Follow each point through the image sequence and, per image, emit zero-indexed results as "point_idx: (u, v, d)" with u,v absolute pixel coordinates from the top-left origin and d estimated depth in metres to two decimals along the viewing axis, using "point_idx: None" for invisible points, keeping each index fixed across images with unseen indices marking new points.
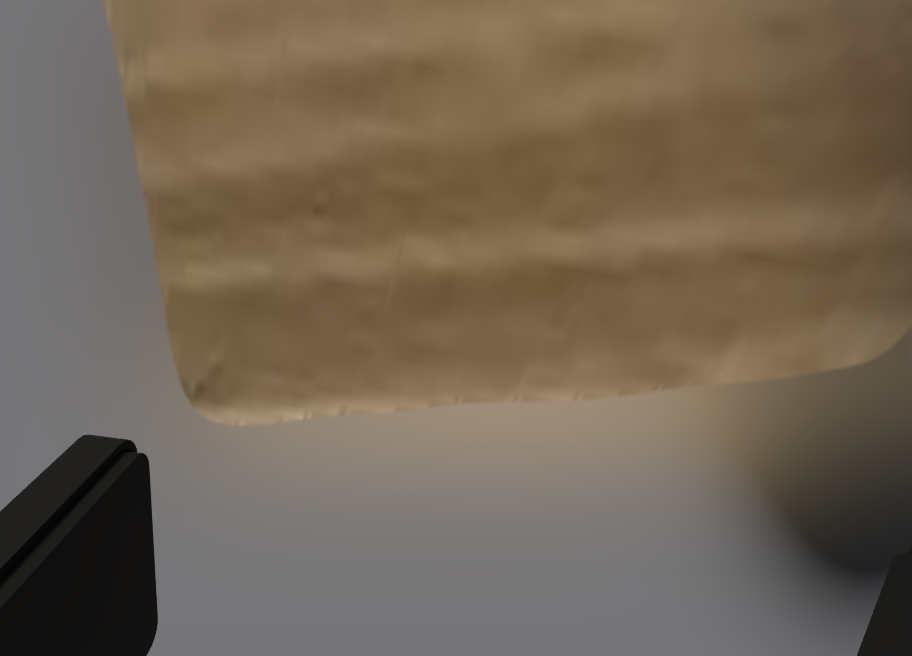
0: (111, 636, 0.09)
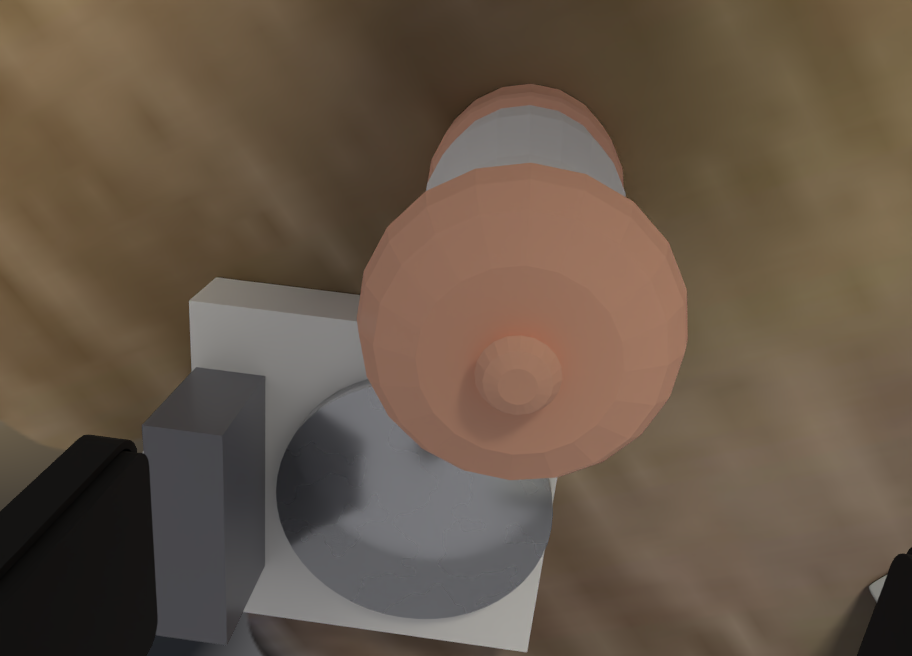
0: (111, 636, 0.09)
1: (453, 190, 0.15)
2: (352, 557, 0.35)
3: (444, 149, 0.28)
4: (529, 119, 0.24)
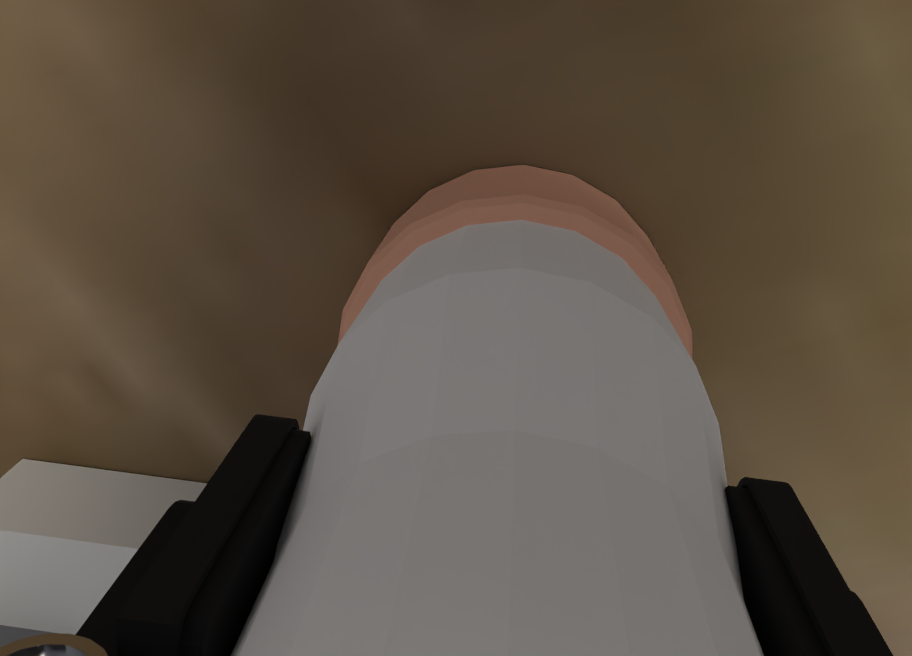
0: None
1: None
2: None
3: (364, 295, 0.15)
4: (518, 287, 0.11)
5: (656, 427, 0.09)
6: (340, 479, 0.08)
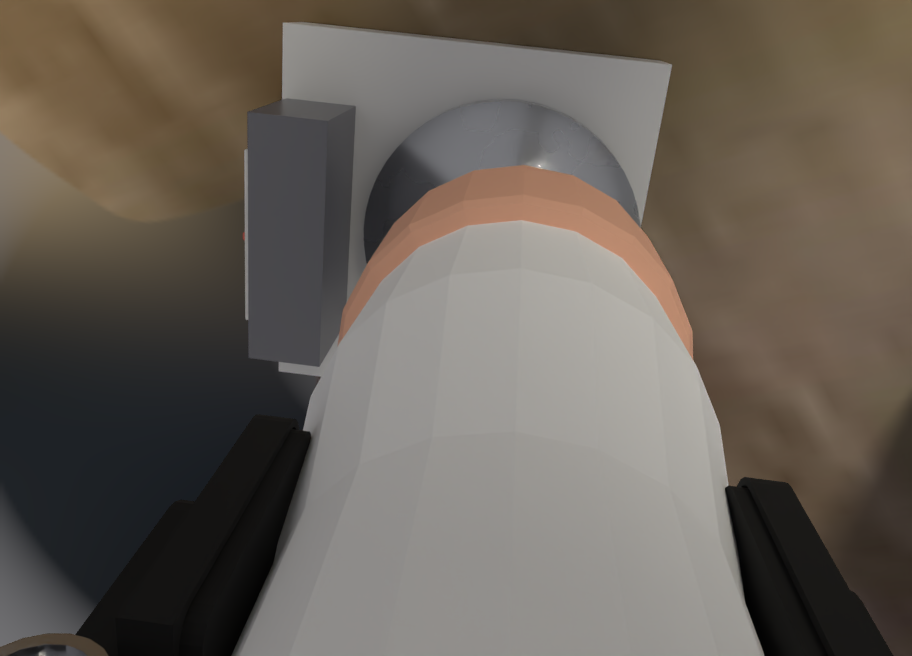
0: None
1: None
2: None
3: (364, 296, 0.15)
4: (519, 287, 0.11)
5: (657, 428, 0.09)
6: (340, 481, 0.08)
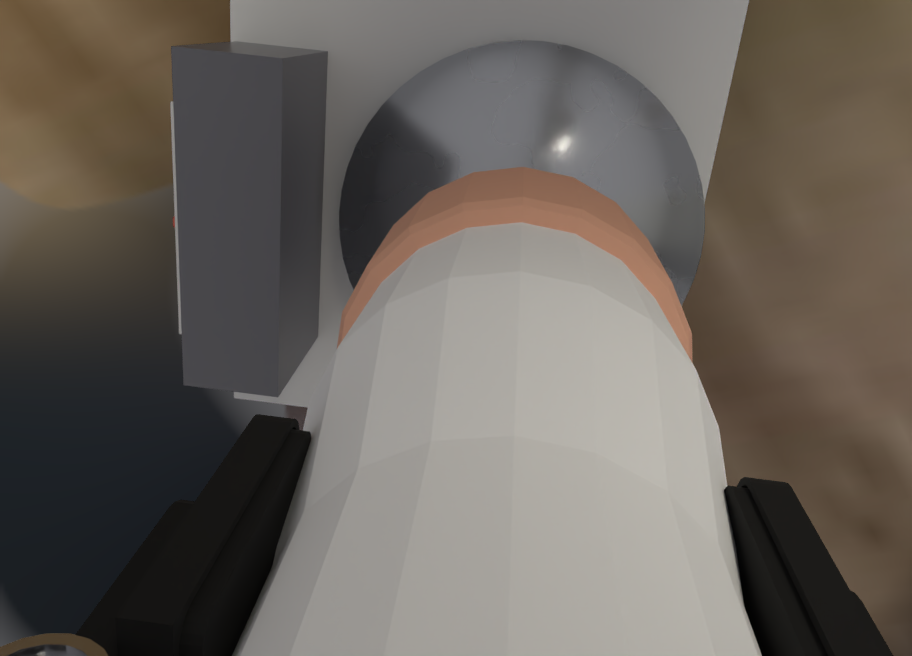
0: None
1: None
2: None
3: (363, 298, 0.15)
4: (518, 290, 0.11)
5: (656, 432, 0.09)
6: (339, 484, 0.08)
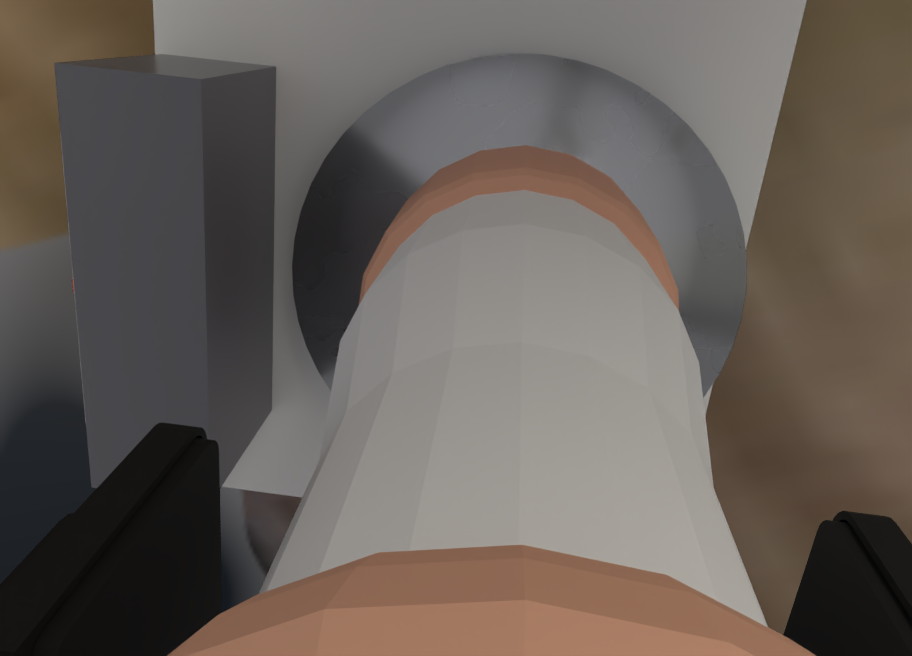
0: (186, 614, 0.09)
1: None
2: None
3: (382, 260, 0.17)
4: (523, 238, 0.12)
5: (640, 347, 0.11)
6: (376, 386, 0.10)
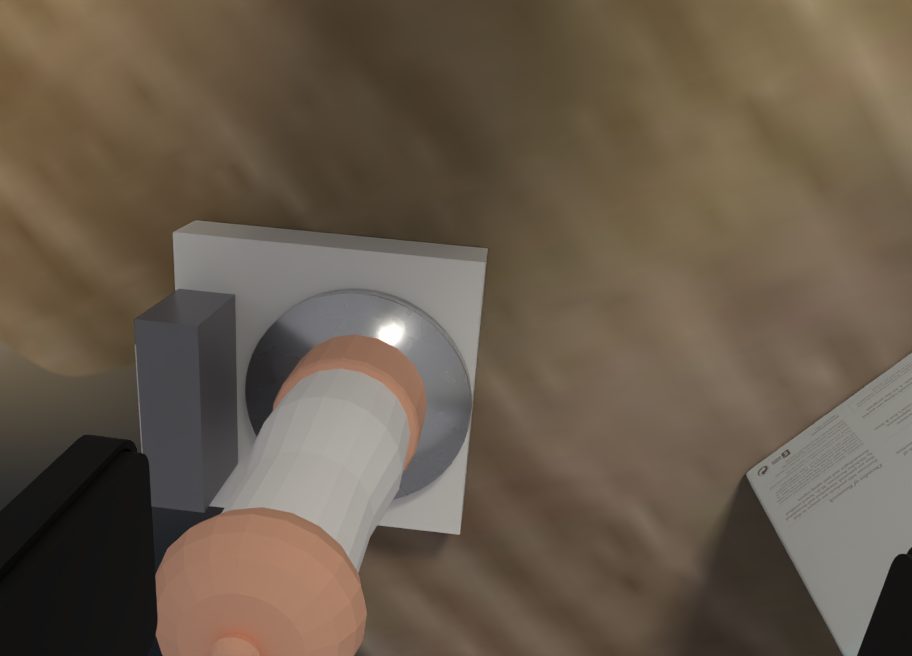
0: (111, 636, 0.09)
1: (200, 534, 0.24)
2: None
3: (281, 398, 0.37)
4: (319, 404, 0.33)
5: (348, 449, 0.31)
6: (255, 465, 0.30)
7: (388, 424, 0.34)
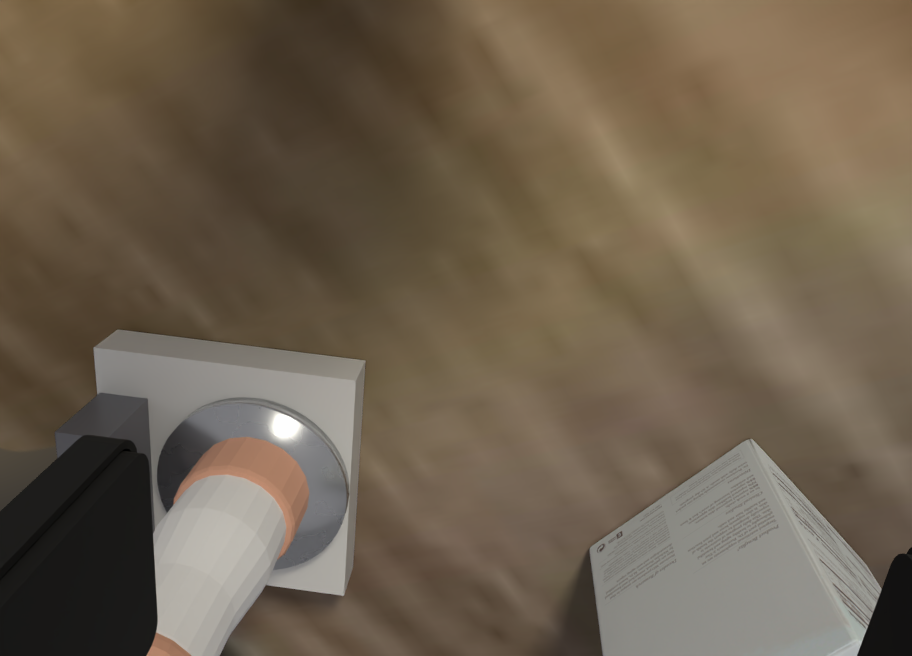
0: (111, 636, 0.09)
1: None
2: None
3: (179, 495, 0.45)
4: (199, 515, 0.40)
5: (216, 559, 0.38)
6: None
7: (258, 529, 0.41)
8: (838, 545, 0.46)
